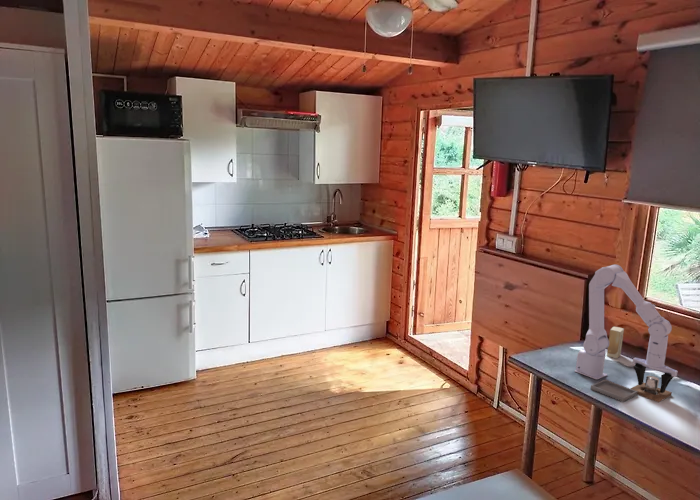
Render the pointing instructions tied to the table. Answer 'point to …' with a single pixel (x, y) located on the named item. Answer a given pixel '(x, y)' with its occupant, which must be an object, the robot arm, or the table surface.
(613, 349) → the skincare box
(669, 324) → the robot arm
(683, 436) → the table surface
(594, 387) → the tray
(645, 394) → the socket block
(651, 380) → the steel pin
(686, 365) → the table surface
